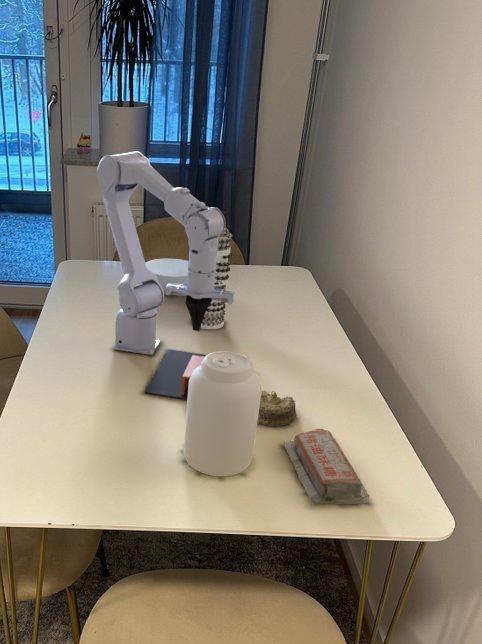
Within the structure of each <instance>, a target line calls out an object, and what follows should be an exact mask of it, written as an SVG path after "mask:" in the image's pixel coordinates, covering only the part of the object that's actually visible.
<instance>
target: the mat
mask: <svg viewBox="0 0 482 644" xmlns="http://www.w3.org/2000/svg"><path fill="white" fill-rule="evenodd" d="M192 355H196V356H203V357H205V356H206V355H207V354H203V353H202V354H201V353H195V352H188V351H181V350H176V349H167V351H166V353H165V355H164V357H163V358H162V360H161V362H160V364H159V365H158V367H157V369H156V370H155V373H154V374H153V376H152V378H151V380H150V381H149V383H148V385H147V387H146V389H145V390H144V394H146V395H153V396H159V397H163V398H164V397H165V398H170V399H178V400H184V401H187V399H188V386H187V388H186V390H185V393H184V395H181V391H182V377H183V374H184V372H185V370H186V368H187V366H188V364H189V362H190V360H191V358H192ZM188 385H189V384H188Z"/></svg>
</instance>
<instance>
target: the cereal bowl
mask: <svg viewBox="0 0 482 644" xmlns="http://www.w3.org/2000/svg"><path fill="white" fill-rule="evenodd" d="M145 264H146V267H147V269H148V270H149V271H151V272H153V273H154V274H156V276H157V279H158V282H159V284H160V285H161V286H162V288H163V291H164V294H166V286H167V284H168V283H169V284H187V278H188V264H189V260H186V259H180V258H167V257H166V258H164V257H163V258H155V259H151V260H148V261H145Z"/></svg>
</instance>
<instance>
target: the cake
mask: <svg viewBox="0 0 482 644" xmlns="http://www.w3.org/2000/svg"><path fill="white" fill-rule="evenodd" d="M297 415H298V414H297V411H296V400H294V399H293V397H292V396H290V395H288V396H284V397H282V398H281V397H280V396H278V394H277V393H276V391H274V390H273V391H271V393H269V392H268V391H266V390H262V393H261V400H260V407H259V414H258V421H257V424H260V425H262V426H267V427H282V426H286V425H289V424H291V423H292V422H294V421H295V420H296V418H297Z"/></svg>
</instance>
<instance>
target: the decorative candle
mask: <svg viewBox="0 0 482 644" xmlns="http://www.w3.org/2000/svg"><path fill="white" fill-rule="evenodd" d="M218 237H219V238H218V249H217V259H216V270H215V280H214V287H215V288H219V289H222V290H226V289H227V288H226V287H227V284H228V283H229V279H230V276H229V274H228V273H229V272H230V271H231V267H230V266H231V265H232V262H231V260H229V259H231V258H232V257H233V253H232V252H231V242H232V241H231V239H232V237H233V234H232V233H231V232H230V230H229V229H228V228H227V227H225V230H224V232H223V233H222V234H221V235H220V236H218ZM226 303H227V302H224V301H217V300H212V302H211V303H210V305H209V307H208V309H207V311H206V313H205V315H204V318H203V320H202V324H201V328H200V329H202V330H219V329H220V328H223V326H224V325H225V322H224V321H225V315H226V310H225V309H226Z"/></svg>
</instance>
